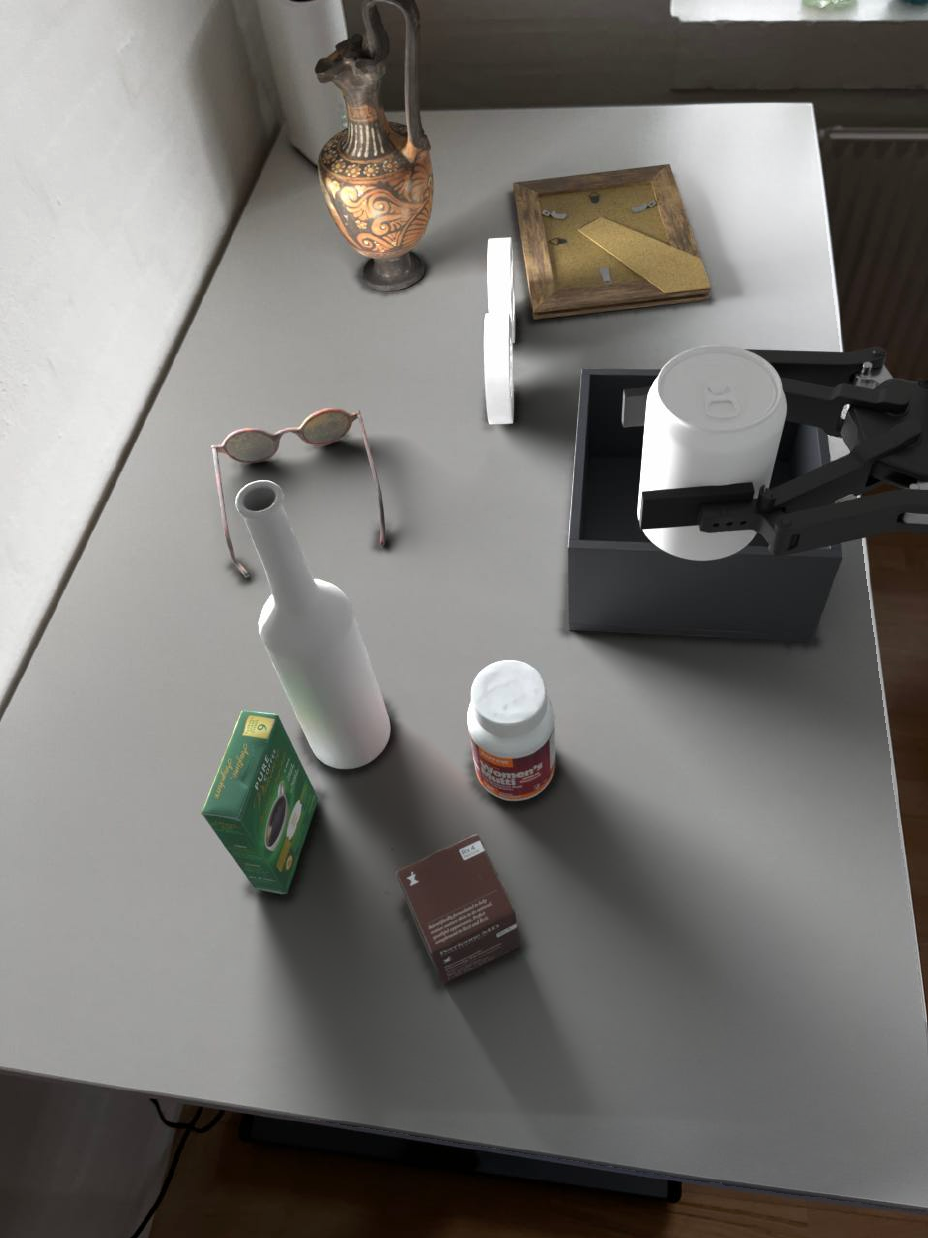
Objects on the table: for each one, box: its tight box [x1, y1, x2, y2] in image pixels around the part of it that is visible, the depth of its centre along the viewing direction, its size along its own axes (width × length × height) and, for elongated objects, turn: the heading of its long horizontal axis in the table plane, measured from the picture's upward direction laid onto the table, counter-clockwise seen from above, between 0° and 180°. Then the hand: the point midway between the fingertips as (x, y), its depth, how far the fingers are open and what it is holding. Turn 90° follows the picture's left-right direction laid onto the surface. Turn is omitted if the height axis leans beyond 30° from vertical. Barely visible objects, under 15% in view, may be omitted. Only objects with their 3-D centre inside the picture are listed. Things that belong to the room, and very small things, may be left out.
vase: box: [314, 0, 435, 292], centre depth 99 cm, size 12×12×30 cm
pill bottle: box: [466, 659, 556, 802], centre depth 71 cm, size 6×6×11 cm
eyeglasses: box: [210, 407, 386, 579], centre depth 91 cm, size 15×15×5 cm
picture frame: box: [512, 163, 712, 320], centre depth 110 cm, size 19×2×24 cm
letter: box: [483, 237, 516, 425], centre depth 97 cm, size 22×2×10 cm, turn 178°
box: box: [395, 833, 521, 984], centre depth 66 cm, size 6×6×7 cm
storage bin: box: [567, 367, 844, 643], centre depth 82 cm, size 20×20×11 cm
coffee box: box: [200, 709, 319, 895], centre depth 68 cm, size 8×3×13 cm, turn 168°
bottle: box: [234, 479, 392, 770], centre depth 67 cm, size 7×7×28 cm
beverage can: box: [638, 344, 787, 561], centre depth 62 cm, size 8×8×12 cm
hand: (632, 457), depth 62 cm, fingers closed on beverage can, 8 cm apart
